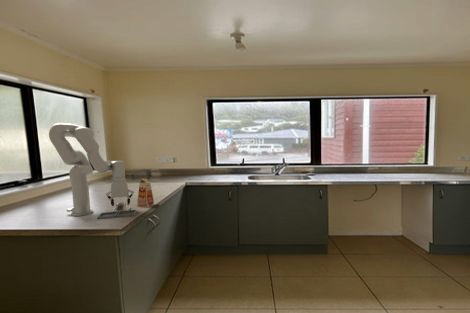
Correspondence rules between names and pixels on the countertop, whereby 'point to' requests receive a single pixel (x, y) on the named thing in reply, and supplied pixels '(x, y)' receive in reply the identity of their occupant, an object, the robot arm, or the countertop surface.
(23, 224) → the countertop surface
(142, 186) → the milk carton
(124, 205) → the letter cube
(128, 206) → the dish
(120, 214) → the dish right
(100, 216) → the dish left
